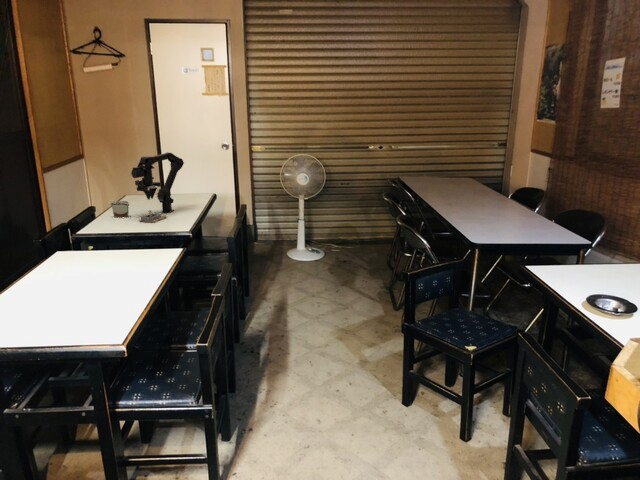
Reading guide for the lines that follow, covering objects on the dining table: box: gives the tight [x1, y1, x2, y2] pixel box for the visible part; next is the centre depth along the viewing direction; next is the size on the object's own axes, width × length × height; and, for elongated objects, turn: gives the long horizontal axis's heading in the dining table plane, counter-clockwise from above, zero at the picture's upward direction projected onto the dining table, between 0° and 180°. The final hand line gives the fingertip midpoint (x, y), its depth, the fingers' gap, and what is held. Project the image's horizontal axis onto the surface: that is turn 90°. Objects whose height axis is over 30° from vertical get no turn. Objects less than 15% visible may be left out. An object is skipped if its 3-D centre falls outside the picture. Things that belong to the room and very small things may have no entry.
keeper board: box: [138, 209, 167, 224], centre depth 322 cm, size 14×11×7 cm
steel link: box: [140, 213, 162, 221], centre depth 321 cm, size 10×8×2 cm
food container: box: [110, 200, 130, 218], centre depth 332 cm, size 12×6×10 cm, turn 84°
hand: (150, 199), depth 332 cm, fingers open, 3 cm apart
